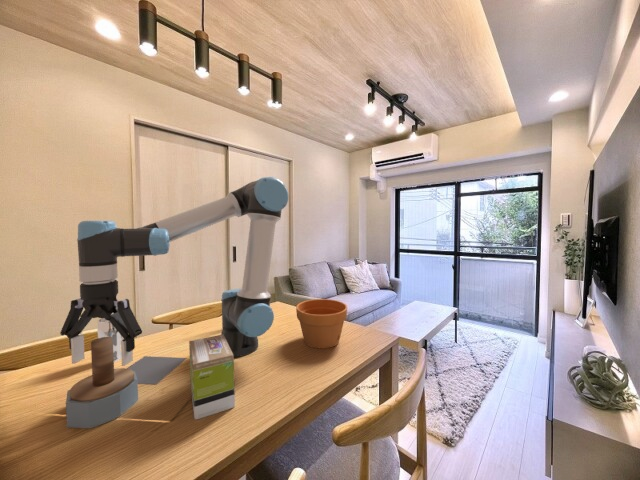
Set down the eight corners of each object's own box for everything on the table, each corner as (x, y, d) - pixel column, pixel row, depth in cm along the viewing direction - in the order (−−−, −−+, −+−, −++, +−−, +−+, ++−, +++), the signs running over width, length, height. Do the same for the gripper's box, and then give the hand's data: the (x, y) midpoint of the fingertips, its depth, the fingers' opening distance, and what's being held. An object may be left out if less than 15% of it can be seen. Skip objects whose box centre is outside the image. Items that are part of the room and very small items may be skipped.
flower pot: (332, 358, 96) (332, 317, 95) (285, 345, 106) (285, 308, 106) (354, 337, 114) (355, 303, 114) (313, 327, 125) (313, 296, 124)
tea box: (189, 388, 78) (188, 339, 77) (225, 379, 83) (224, 332, 82) (193, 422, 65) (192, 362, 64) (235, 408, 70) (235, 353, 69)
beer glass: (110, 366, 90) (108, 323, 89) (93, 364, 91) (91, 321, 90) (128, 356, 97) (127, 316, 96) (112, 354, 98) (111, 314, 97)
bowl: (149, 392, 76) (148, 371, 76) (106, 429, 62) (105, 404, 62) (103, 389, 77) (102, 369, 77) (51, 426, 63) (49, 401, 63)
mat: (187, 359, 95) (187, 357, 95) (156, 385, 79) (156, 384, 79) (144, 357, 96) (144, 356, 96) (105, 383, 80) (105, 382, 80)
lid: (145, 372, 75) (144, 331, 75) (105, 403, 62) (103, 353, 62) (102, 370, 76) (101, 329, 76) (54, 400, 63) (51, 351, 63)
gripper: (156, 279, 71) (158, 356, 72) (69, 277, 72) (72, 353, 74) (134, 285, 63) (137, 372, 64) (37, 283, 65) (42, 367, 66)
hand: (102, 362), depth 69 cm, fingers open, 13 cm apart
